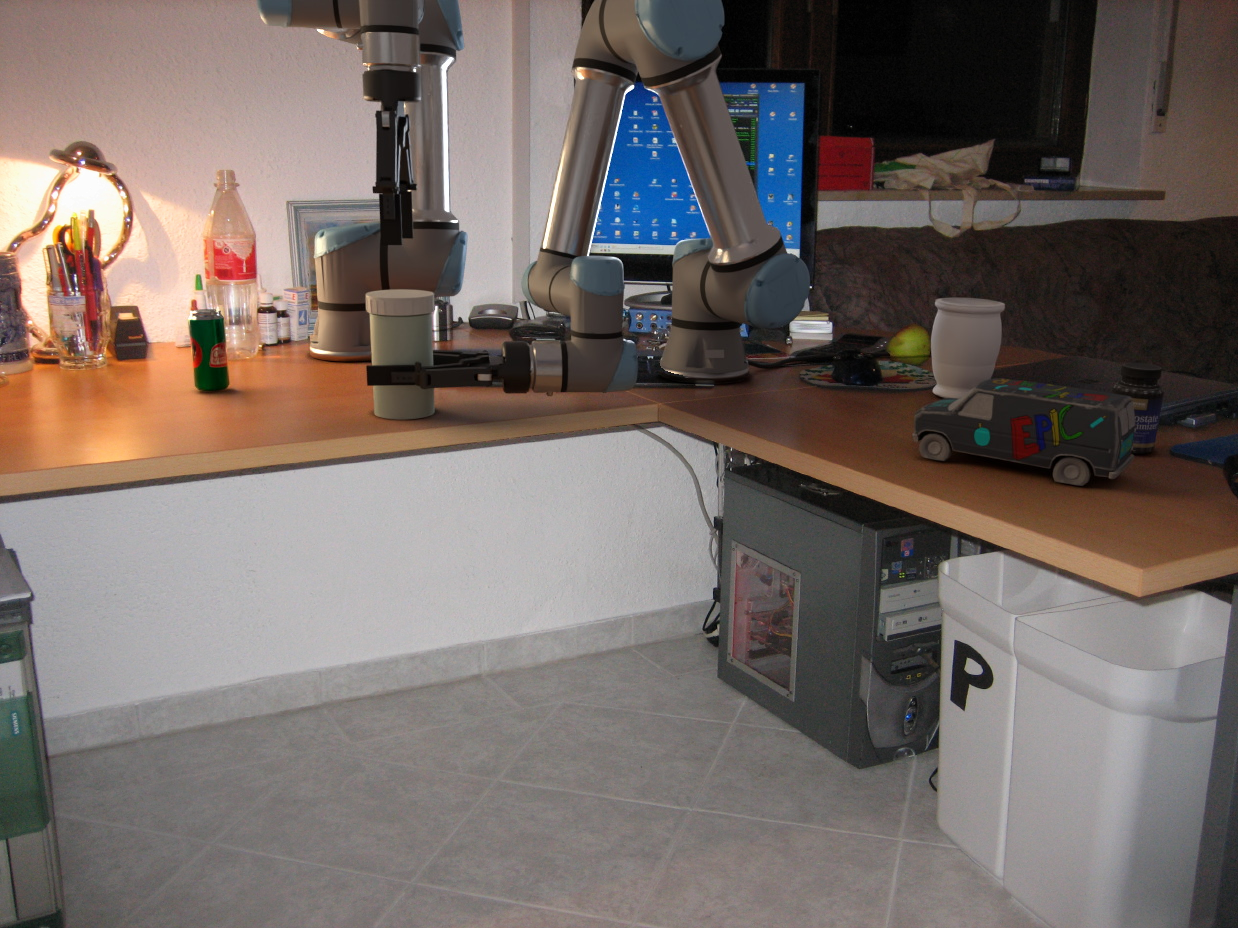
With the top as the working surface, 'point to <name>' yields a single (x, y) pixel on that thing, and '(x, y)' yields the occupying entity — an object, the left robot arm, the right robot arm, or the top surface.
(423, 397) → the screw-top jar
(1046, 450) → the toy van
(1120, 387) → the pill bottle
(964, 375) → the jar
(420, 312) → the lid
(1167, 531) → the top surface
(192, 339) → the soda can
